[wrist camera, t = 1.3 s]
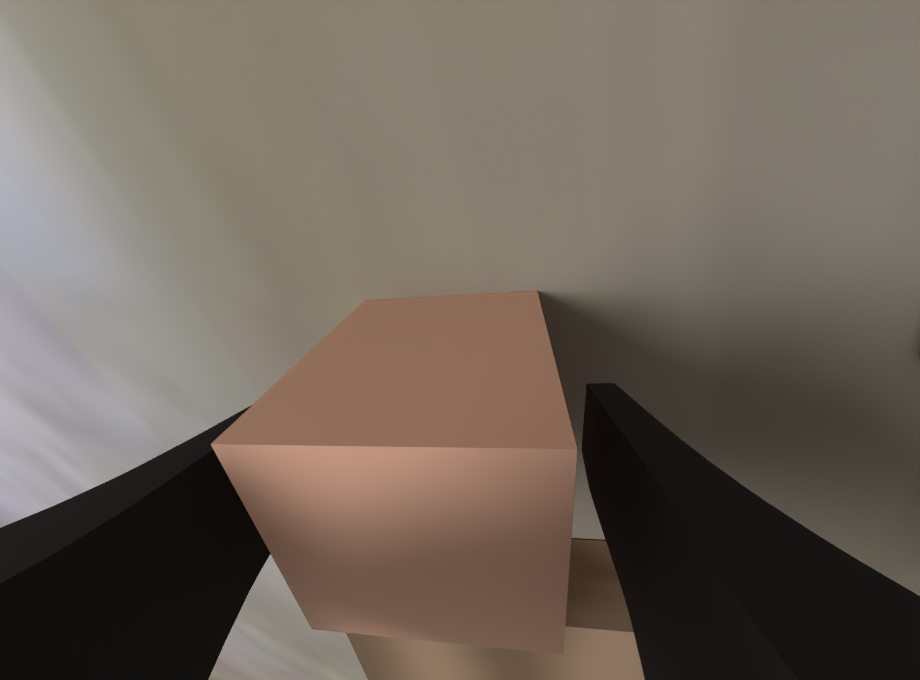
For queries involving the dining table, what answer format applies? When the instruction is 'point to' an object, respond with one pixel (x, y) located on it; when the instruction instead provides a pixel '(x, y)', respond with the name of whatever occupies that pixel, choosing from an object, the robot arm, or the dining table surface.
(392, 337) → the terracotta block
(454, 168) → the dining table surface
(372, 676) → the walnut base
